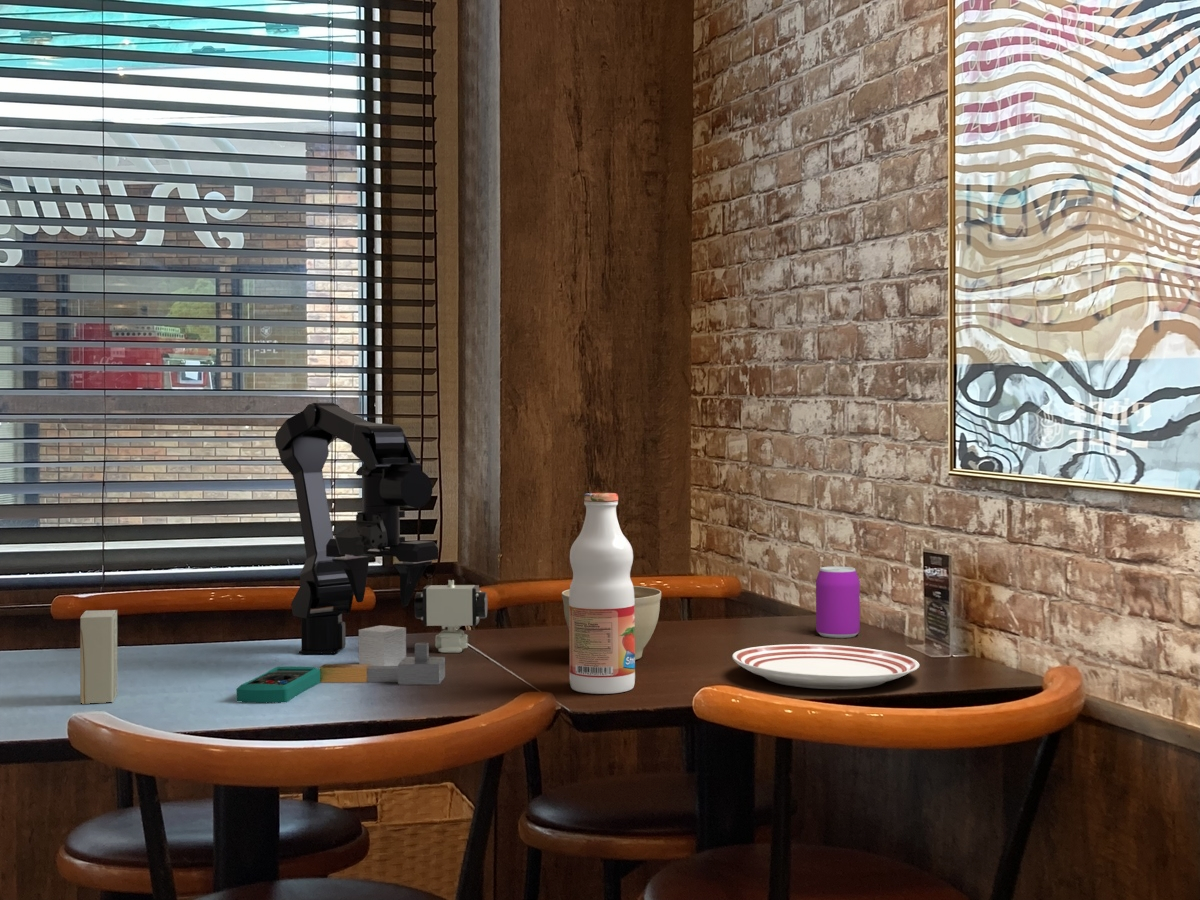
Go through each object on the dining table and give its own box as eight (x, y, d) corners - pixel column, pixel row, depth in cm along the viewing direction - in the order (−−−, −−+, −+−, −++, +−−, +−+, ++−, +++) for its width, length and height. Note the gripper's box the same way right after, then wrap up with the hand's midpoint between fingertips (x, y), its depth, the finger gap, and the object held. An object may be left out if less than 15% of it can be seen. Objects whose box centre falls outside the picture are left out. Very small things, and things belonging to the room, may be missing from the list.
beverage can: (810, 632, 233) (809, 566, 233) (850, 631, 234) (850, 565, 234) (825, 639, 225) (824, 571, 225) (866, 638, 227) (866, 570, 227)
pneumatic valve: (485, 653, 214) (484, 581, 214) (414, 654, 214) (414, 582, 214) (488, 648, 219) (488, 577, 219) (420, 648, 220) (419, 578, 219)
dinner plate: (853, 657, 210) (853, 636, 210) (958, 688, 184) (958, 665, 184) (701, 669, 200) (701, 648, 200) (789, 704, 174) (789, 680, 174)
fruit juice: (562, 684, 188) (561, 492, 188) (624, 680, 191) (622, 491, 190) (579, 697, 179) (577, 495, 179) (643, 692, 182) (642, 494, 181)
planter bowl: (547, 654, 213) (547, 588, 213) (636, 647, 220) (635, 583, 219) (584, 670, 198) (584, 600, 198) (678, 662, 205) (678, 594, 205)
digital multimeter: (233, 706, 177) (233, 684, 177) (274, 684, 192) (274, 664, 192) (285, 707, 176) (284, 685, 176) (321, 685, 191) (321, 665, 191)
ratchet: (316, 684, 189) (316, 647, 189) (326, 676, 195) (326, 640, 195) (439, 684, 189) (438, 647, 188) (445, 676, 195) (444, 640, 194)
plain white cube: (359, 667, 202) (358, 629, 202) (381, 662, 206) (380, 625, 206) (384, 670, 199) (384, 632, 199) (406, 665, 204) (405, 627, 204)
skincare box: (85, 696, 182) (84, 610, 182) (119, 694, 183) (117, 609, 183) (79, 705, 176) (78, 616, 176) (114, 703, 177) (113, 615, 177)
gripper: (300, 506, 200) (301, 606, 201) (393, 510, 191) (393, 615, 191) (349, 502, 210) (350, 597, 210) (440, 505, 200) (440, 605, 201)
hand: (381, 604), depth 203 cm, fingers open, 9 cm apart
